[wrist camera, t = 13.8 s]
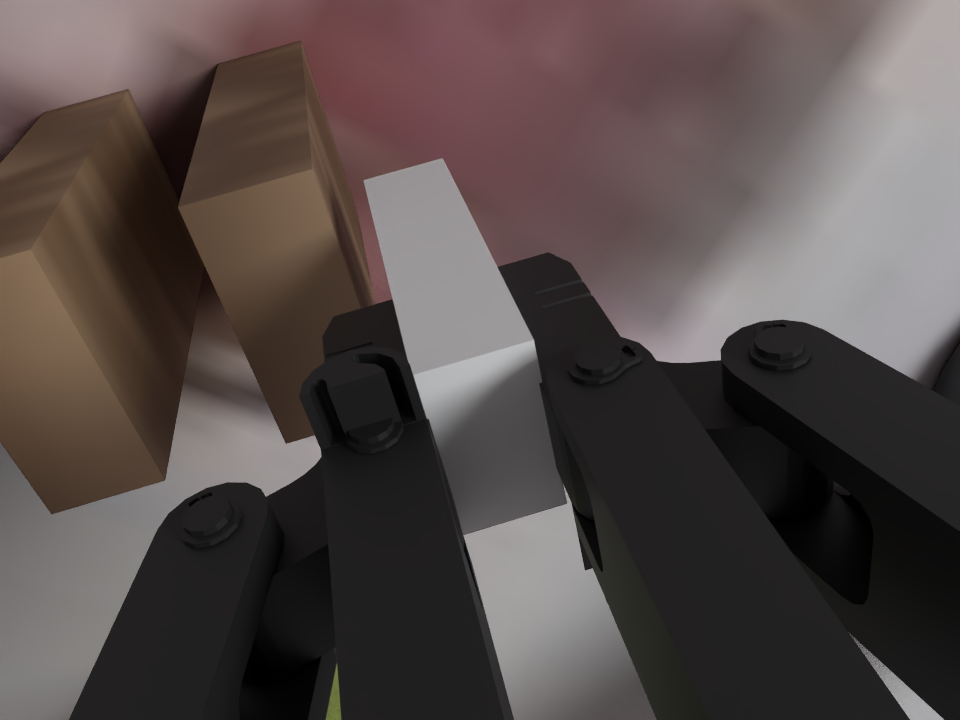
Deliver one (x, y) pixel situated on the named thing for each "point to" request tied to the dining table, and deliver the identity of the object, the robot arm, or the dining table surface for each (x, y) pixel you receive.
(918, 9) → the dining table surface
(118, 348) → the domino
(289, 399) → the domino
